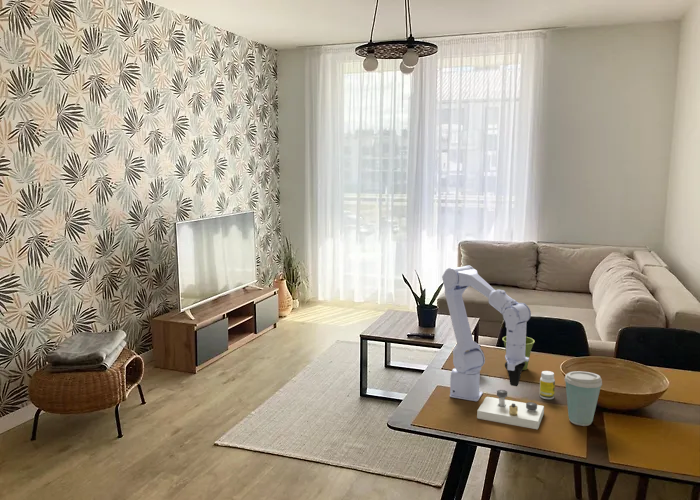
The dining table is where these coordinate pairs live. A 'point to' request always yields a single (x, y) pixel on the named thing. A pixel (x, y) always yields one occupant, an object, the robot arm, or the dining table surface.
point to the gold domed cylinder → (513, 410)
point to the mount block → (501, 414)
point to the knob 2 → (531, 406)
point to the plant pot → (527, 350)
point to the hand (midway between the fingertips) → (514, 385)
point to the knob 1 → (502, 397)
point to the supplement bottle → (547, 385)
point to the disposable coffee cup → (582, 396)
